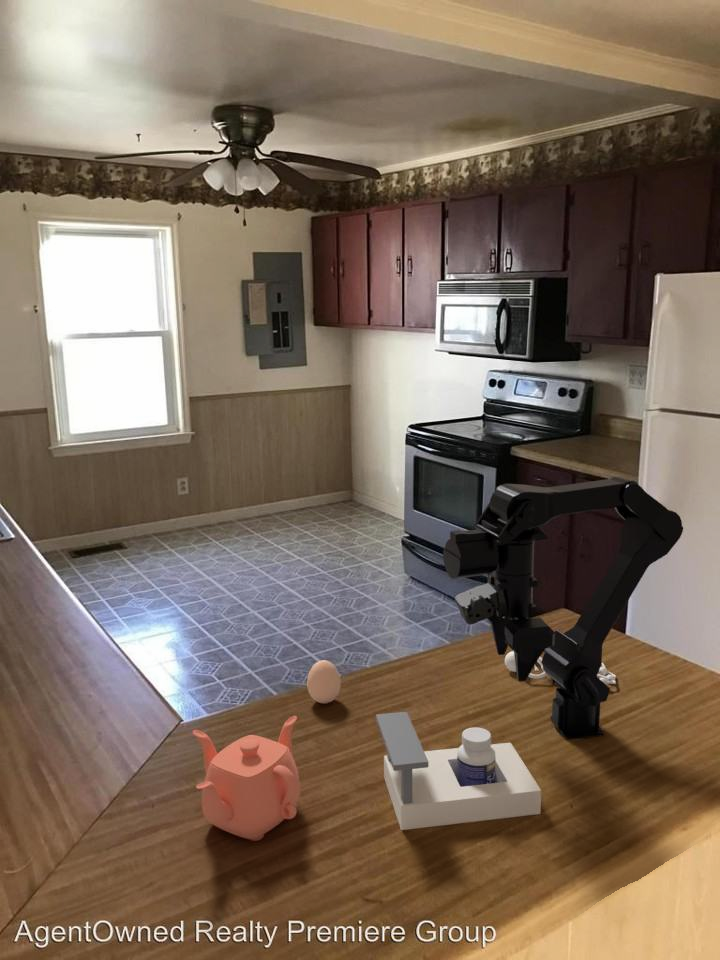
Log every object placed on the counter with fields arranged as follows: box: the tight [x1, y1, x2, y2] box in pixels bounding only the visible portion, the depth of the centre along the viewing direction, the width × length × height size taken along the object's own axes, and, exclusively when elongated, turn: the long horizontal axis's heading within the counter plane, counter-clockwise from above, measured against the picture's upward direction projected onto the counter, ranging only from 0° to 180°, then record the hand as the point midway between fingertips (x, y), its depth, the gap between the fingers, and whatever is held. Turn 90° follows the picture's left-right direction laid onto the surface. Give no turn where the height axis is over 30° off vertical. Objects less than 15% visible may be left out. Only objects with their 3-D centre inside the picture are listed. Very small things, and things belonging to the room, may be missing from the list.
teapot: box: [192, 715, 301, 842], centre depth 104 cm, size 14×14×11 cm
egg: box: [306, 659, 342, 704], centre depth 136 cm, size 6×6×8 cm
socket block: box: [375, 711, 542, 831], centre depth 109 cm, size 20×13×10 cm, turn 99°
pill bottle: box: [457, 726, 496, 787], centre depth 109 cm, size 5×5×9 cm
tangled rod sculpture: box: [504, 650, 617, 686], centre depth 145 cm, size 19×14×4 cm
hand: (511, 667), depth 120 cm, fingers open, 9 cm apart
